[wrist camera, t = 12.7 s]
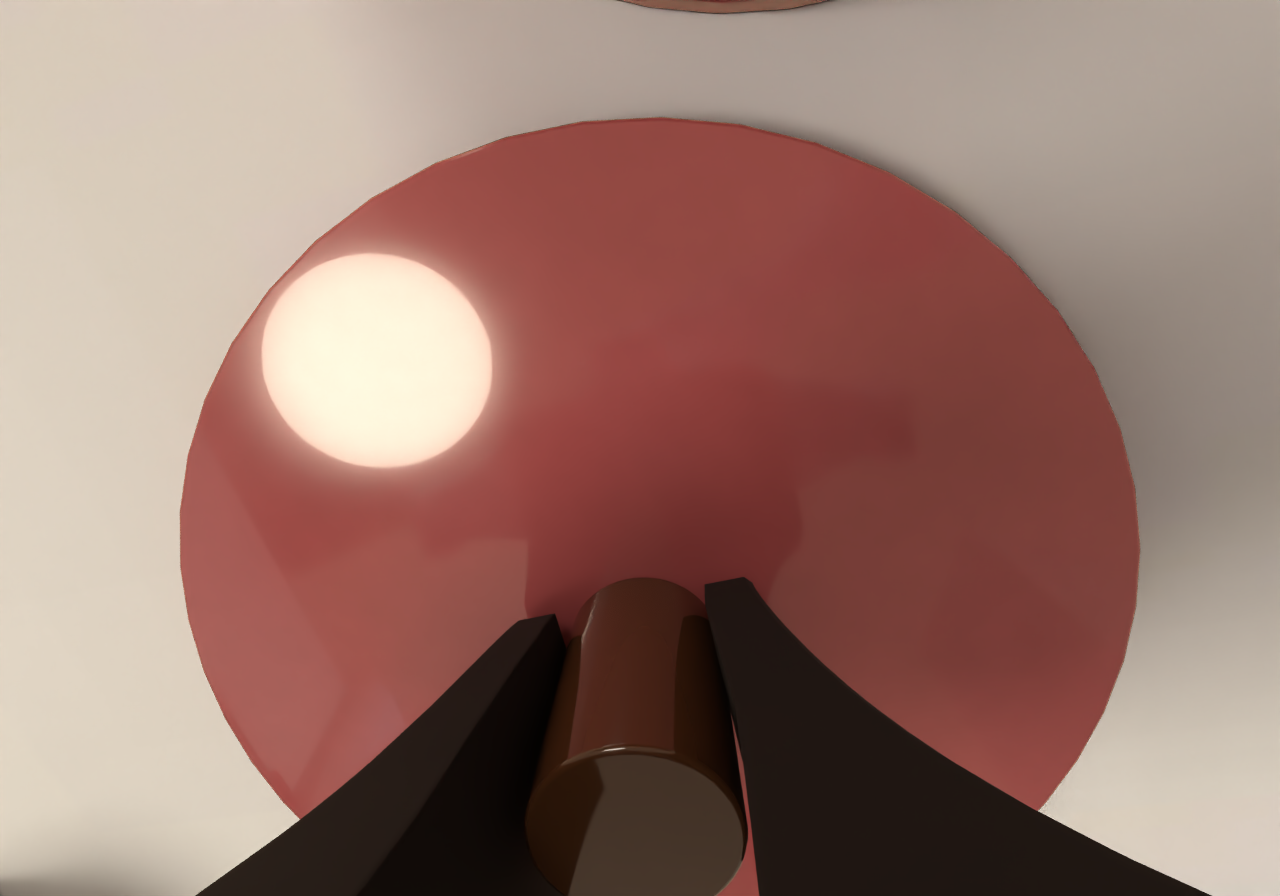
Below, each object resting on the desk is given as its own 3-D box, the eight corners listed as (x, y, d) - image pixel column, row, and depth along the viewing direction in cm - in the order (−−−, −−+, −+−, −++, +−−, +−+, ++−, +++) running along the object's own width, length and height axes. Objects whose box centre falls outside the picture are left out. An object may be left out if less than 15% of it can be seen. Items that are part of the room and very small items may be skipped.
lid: (1264, 630, 10) (1705, 899, 6) (634, 1010, 14) (620, 1358, 9) (670, -142, 8) (677, -714, 3) (66, 580, 11) (-331, 788, 7)
